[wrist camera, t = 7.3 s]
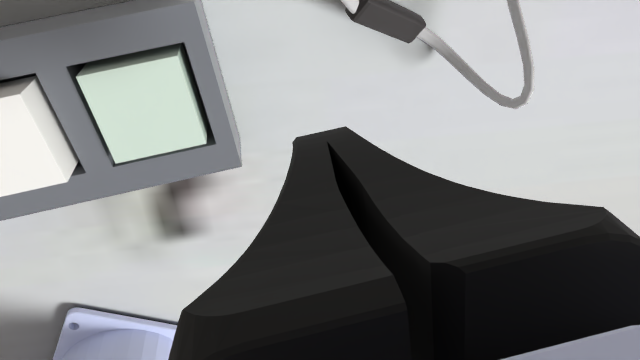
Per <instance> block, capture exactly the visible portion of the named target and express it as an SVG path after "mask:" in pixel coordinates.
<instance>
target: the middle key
mask: <svg viewBox="0 0 640 360" xmlns="http://www.w3.org/2000/svg"><path fill="white" fill-rule="evenodd" d="M78 161H79V158H78V156H77V154H76V152H75V150H74V148H73V146H72V144H71V142H70V140H69V138H68V136H67V134H66V132H65V130H64V128H63V126H62V124H61V122H60V120H59V118H58V116H57V114H56V112H55V110H54V108H53V107H52V105H51V103H50V101H49V99H48V97H47V95H46V93H45V91H44V89H43V87H42V85H41V83H40V81H39V79H38V77H37V76H33V77H28V78H23V79H18V80H13V81H9V82H4V83H0V197H2V196H7V195H11V194H16V193H21V192H25V191H30V190H34V189H39V188H43V187H48V186H52V185H57V184H61V183H66V182H68V180H69V178H70V176H71V174H72V173H73V171H74V169H75V167H76V165H77V163H78Z"/></svg>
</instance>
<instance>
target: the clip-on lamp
mask: <svg viewBox="0 0 640 360" xmlns="http://www.w3.org/2000/svg"><path fill="white" fill-rule="evenodd" d="M341 2H342V3H343V4H344V5H345V6H346V10H345V11H346V13H347V15H348V16H349V17H350V19H351V20H352V21H354V22H356V23H359V24H361V25H364V26H366V27H369V28H371V29H374V30H376V31H379V32H381V33H384V34H386V35H389V36H391V37H394V38H397V39H399V40H402V41H404V42H407V43H411V42H412V41H413V40H414V39H415V38H416V37H417V38H419V39H421V40H422V41H424V42H425V43H427V44H428V45H429V46H431V47H432V48H434V49H435V50H436V51H437V52H438V53H439V54H440V55H442V56H443V57H444V58H445V59H446V60H447V61H448V62H449V63H450V64H451V65H453V66H454V67H455V68H456V69H457V70H458V71H459V72H460V73H461V74H462V75H463V76H464V77H465V78H466V79H467V80H468V81H470V82H471V83H472V84H473V85H474V86H475V87H476V88H477V89H479V90H480V91H481V92H482V93H483V94H484V95H486V96H487V97H489V98H490V99H492V100H493V101H495V102H496V103H498V104H499V105H501V106H505V107H509V108H513V109H517V108H519V107H522V106H524V105H526V104H528V101H529V99H530V97H531V95H532V93H533V91H534V63H533V58H532V53H531V47H530V42H529V38H528V34H527V30H526V26H525V22H524V19H523V15H522V11H521V7H520V3H519V0H507V3H508V7H509V11H510V14H511V18H512V22H513V25H514V29H515V32H516V36H517V40H518V44H519V49H520V53H521V57H522V62H523V70H524V87H523V90H522V93H521V96H519V97H517V98H514V99H511V98H509V97H506V96H504V95H501V94H500V93H499V92H497V91H496V90H495V89H493V88H492V87H491V86H490V85H488V84H487V83H486V82H485V81H484V80H483V79H482V78H481V77H480V76H479V75H478V74H477V73H476V72H475V71H474V70H473V69H472V68H471V67H470V66H469V65H468V64H467V63H466V62H465V61H464V60H463V59H462V58H461V57H460V56H459V55H458V54H457V53H456V52H455V51H454V50H453V49H452V48H451V47H450V46H448V45H447V44H446V43H445V42H444V41H443V40H442V39H441V38H440V37H439V36H437V35H436V34H435V33H433V32H432V31H430V30H429V29H428V28H426V23H425V21H424V19H423V18H422V17H421V16H420V15H418V14H416V13H414V12H412V11H410V10H408V9H406V8H404V7H402V6H399V5H397V4H395V3H393V2H391V1H389V0H341Z"/></svg>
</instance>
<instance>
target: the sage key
mask: <svg viewBox="0 0 640 360" xmlns="http://www.w3.org/2000/svg"><path fill="white" fill-rule="evenodd" d="M76 78H77V81H78V83H79V85H80V87H81V89H82V92H83V94H84V96H85V98H86V100H87V102H88V105H89V107H90V109H91V111H92V113H93V115H94V118H95V120H96V122H97V124H98V126H99V129H100V131H101V133H102V135H103V137H104V139H105V142H106V144H107V146H108V148H109V150H110V152H111V155H112V157H113V159H114V161H115V163H121V162H126V161H130V160H135V159H139V158H144V157H148V156H153V155H157V154H162V153H166V152H171V151H175V150H180V149H184V148H189V147H193V146H198V145H203V144H206V142H207V127H208V123H207V120H206V117H205V114H204V110H203V107H202V104H201V101H200V98H199V95H198V92H197V88H196V85H195V82H194V79H193V76H192V73H191V70H190V66H189V63H188V60H187V57H186V54H185V51H184V48H183V44H182V43H177V44H172V45H168V46H163V47H158V48H153V49H148V50H143V51H139V52H134V53H129V54H124V55H119V56H114V57H110V58H105V59H100V60H95V61H90V62H87V63H86V65H85V66H84V67H83V68H82V70H81V71H80V72H79V73H78V75H77V76H76Z"/></svg>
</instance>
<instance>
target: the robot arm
mask: <svg viewBox="0 0 640 360" xmlns="http://www.w3.org/2000/svg"><path fill="white" fill-rule="evenodd" d="M74 323H77V324H74ZM53 360H640V237H639V236H638V235H637V234H636V233H634V232H633V231H632V230H631V229H630V228H628V227H627V226H626V225H625V224H624V223H622V222H621V221H620V220H619V219H618V218H616V217H615V216H614V215H613V214H612V213H610V212H609V211H608V210H606V209H605V208H604V207H595V206H584V205H572V204H561V203H550V202H542V201H535V200H529V199H523V198H517V197H511V196H506V195H501V194H496V193H492V192H488V191H484V190H480V189H476V188H472V187H468V186H465V185H462V184H458V183H455V182H452V181H449V180H446V179H444V178H441V177H438V176H435V175H433V174H430V173H428V172H425V171H423V170H420V169H418V168H416V167H414V166H412V165H410V164H408V163H406V162H404V161H402V160H400V159H398V158H396V157H394V156H392V155H390V154H389V153H387V152H385V151H383V150H382V149H380V148H378V147H377V146H375V145H373V144H372V143H370V142H368V141H367V140H365V139H364V138H362V137H361V136H359V135H358V134H356V133H355V132H353V131H352V130H350V129H349V128H347V127H341V128H337V129H332V130H328V131H323V132H319V133H314V134H310V135H305V136H301V137H296V139H295V140H294V141H293V153H292V158H291V163H290V167H289V170H288V173H287V177H286V180H285V183H284V185H283V188H282V190H281V192H280V195H279V197H278V199H277V202H276V204H275V206H274V208H273V210H272V212H271V214H270V215H269V217H268V219H267V221H266V222H265V224H264V226H263V227H262V229H261V230H260V232H259V233H258V235H257V236H256V238H255V239H254V240H253V242H252V243H251V245H250V246H249V247H248V249H247V250H246V251H245V252H244V254H243V255H242V256H241V257H240V258H239V259H238V260H237V261H236V263H235V264H234V265H233V266H232V267H231V268H230V269H229V270H228V271H227V272H226V273H225V274H224V275H223V276H222V277H221V278H220V279H219V280H218V281H216V282H215V283H214V284H213V285H212V286H211V287H209V288H208V289H207V290H206V291H205V292H204V293H202V294H201V295H200V296H199V297H198V298H197V299H195V300H194V301H193V302H192V303H191V304H189V305H188V306H187V307H185V308H184V309H183V310H182V312H181V315H180V318H179V322H178V325H172V324H167V323H161V322H156V321H150V320H145V319H139V318H134V317H128V316H123V315H117V314H112V313H106V312H101V311H95V310H90V309H84V308H72V309H70V310H69V311H68V312H67V315H66V318H65V321H64V324H63V327H62V331H61V334H60V337H59V340H58V344H57V347H56V350H55V353H54V357H53Z"/></svg>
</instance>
